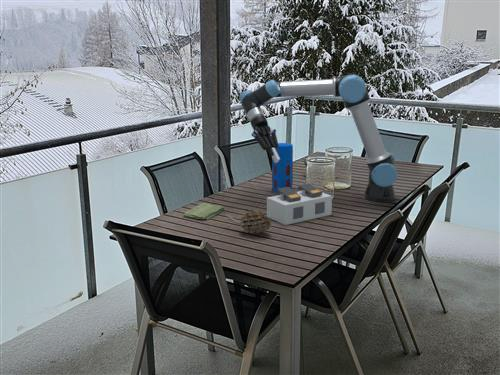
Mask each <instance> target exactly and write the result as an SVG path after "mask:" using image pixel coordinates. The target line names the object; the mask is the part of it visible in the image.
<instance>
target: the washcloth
mask: <svg viewBox="0 0 500 375" xmlns="http://www.w3.org/2000/svg"><path fill="white" fill-rule="evenodd" d="M224 210H225V207H224V206H222V205H218V204H211V203H207V202H202V203H200V204H199V205H196V206H195V207H193V208H190V209H189V210H187V211H186V212H184V213H183V214H182V216H183V217H184V218H189V217H190V218H192V219H195V220H196V219H197V220H198V219H199V220H205V221H209V220H211V219H212V218H214V217H216V216H217V215H219V214H221V213H222V212H224ZM190 218H189V219H190Z"/></svg>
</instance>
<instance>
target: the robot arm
mask: <svg viewBox="0 0 500 375" xmlns="http://www.w3.org/2000/svg"><path fill="white" fill-rule="evenodd" d="M314 96H317V97H318V96H320V97H321V96H334V98H341V99H342V102H343V104H344V107H345V109H346V110H348V111H350V113H351V114H350V115H352V116H351V117H352V119H353V122H354V124H355V127H356V130H357V131H358V135H359V138H360V140H361V143H362V145H363V148H364V150H365V153H366V156H367V159H366V166H367V168H368V170H369V171H368V183H367V186H366V187H365V188H366V189H365V191H364V196H363V197H364V199H366V200H369V201H371V202H377V203H387V202H388V203H389V202H392V201H395V200H396V191H395V189H394V185H393V184H395V182H396V181H397V179H398V174H399V172H398V169H397V167H396V165H395V154H394V153H390V152H389V151H387V150H386V148H385V145H384V142H383V140H382V137H381V134H380V132H379V129H378V126H377V123H376V120H375V118H374V116H373V112H372V109H371V107H370V105H369V104H370V101H371V98H370V95H369V92H368V89H367V85H366V83H365V81H364V79H363V78H362V77H360V75H358V74H354V73H352V74H351V73H350V74H346V75H341V76H334V77H333V78H330V79H329V78H327V79H326V78H325V79H310V80H307V79H306V80H291V81H275V79H271V80H269V81H267V82H266V83H264V84H262V85H261V86H260V87H258V88H257V89H255V90H254V91H253V90H252V89H247V90H244V91H242V92H241V93H240V94H239V97H238V100H239V101H240V105H241V108H242V109H243V110H244V112H245V114H246V117H247V120H248V122H249V123H250V126H251V127H252V130H253V131H252V133H251V136H252V137H253V138H254V139H255V140H256V141H257V143H258V144H259V147H260V148H262V150H263V151H266V152H267V153H268V154H269V156H270V157H271V159H272V158H273V160H274V162H275V163H278V161H279V160H280V158H279V156H278V151H277V149H276V148H277V147H278V143H279V142H278V137H277V130H276V128H275V129H274V128H273V129H272V128H271V127H270V125H269V122H268V120H267V118H266V116H265V113H264V112H263V109H262V108H261V106H263V105H264V104H266V103H267V102H269V101H271V100H272V99H275V98H290V97H291V98H293V97H314Z"/></svg>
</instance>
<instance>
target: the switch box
mask: <svg viewBox="0 0 500 375" xmlns="http://www.w3.org/2000/svg"><path fill="white" fill-rule="evenodd" d="M314 187H315V186H314ZM315 188H317V189H319V188H318V187H315ZM293 191H294V192H296V193H297V194H298V195H300V196H301V200H298V201H293V202H289V201H287V200H286V199H285V198H284V195H283V194H279V195H274V196H273V195H272V196H268V197H266V216H268V218H269V219H271V220H273V221H274V222H275V221H276V222H277V223H280V224H281V225H283V226H287V225H292V224H296V223H301V222H306V221H310V220H314V219H318V218H324V217H327V216H331V215H332V210H333V209H332V208H333V207H332V206H333V204H332V202H333V195H331V194H328V193H326V192H323V191H322V195H320V196H315V197H310V196H309V195H307V194H306V191H305V190H302V191H301V190H300V191H295V190H293Z"/></svg>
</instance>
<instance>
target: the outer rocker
mask: <svg viewBox="0 0 500 375" xmlns="http://www.w3.org/2000/svg"><path fill="white" fill-rule="evenodd" d="M294 191H295V190H294V189H293V188H292V189H291V188H289V187H284V188H278V189H277V192H278V193H277V194H279V195H280V194H283V195H284V198H285V199H286V200H287V201H289V202H293V201H298V200H301V196H300V195H298V194H297V193H296V192H297V191H295V192H294Z"/></svg>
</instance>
